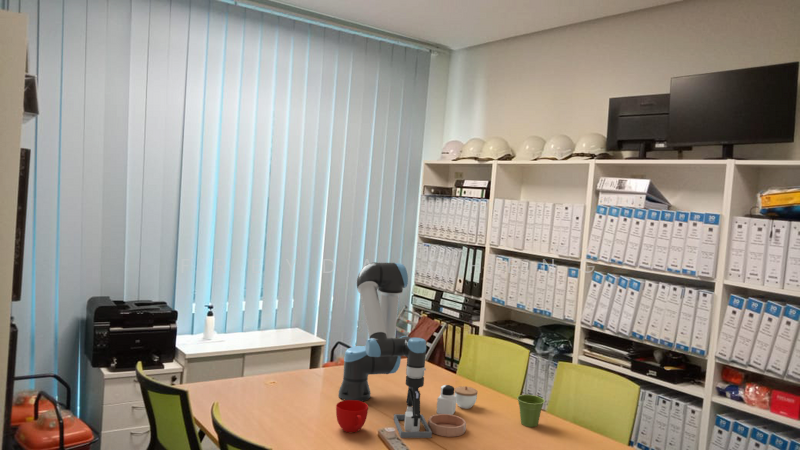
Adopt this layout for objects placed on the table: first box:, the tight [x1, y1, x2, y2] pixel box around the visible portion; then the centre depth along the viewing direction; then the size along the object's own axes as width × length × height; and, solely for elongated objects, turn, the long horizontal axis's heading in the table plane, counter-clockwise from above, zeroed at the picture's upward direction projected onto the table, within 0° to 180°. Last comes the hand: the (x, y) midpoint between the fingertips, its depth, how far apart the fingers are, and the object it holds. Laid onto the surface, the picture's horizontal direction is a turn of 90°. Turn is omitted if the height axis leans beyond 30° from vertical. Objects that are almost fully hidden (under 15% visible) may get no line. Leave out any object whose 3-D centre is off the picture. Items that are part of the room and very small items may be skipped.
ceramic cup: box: [335, 400, 369, 433], centre depth 235 cm, size 13×17×10 cm
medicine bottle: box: [436, 384, 457, 415], centre depth 264 cm, size 7×7×12 cm
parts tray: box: [393, 413, 433, 439], centre depth 243 cm, size 13×20×2 cm, turn 9°
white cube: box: [403, 410, 421, 432], centre depth 243 cm, size 6×6×6 cm
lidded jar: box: [454, 386, 478, 410], centre depth 273 cm, size 11×11×9 cm
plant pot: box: [516, 394, 546, 428], centre depth 255 cm, size 12×12×11 cm
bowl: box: [427, 413, 467, 438], centre depth 243 cm, size 15×15×4 cm
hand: (411, 427), depth 243 cm, fingers open, 12 cm apart
